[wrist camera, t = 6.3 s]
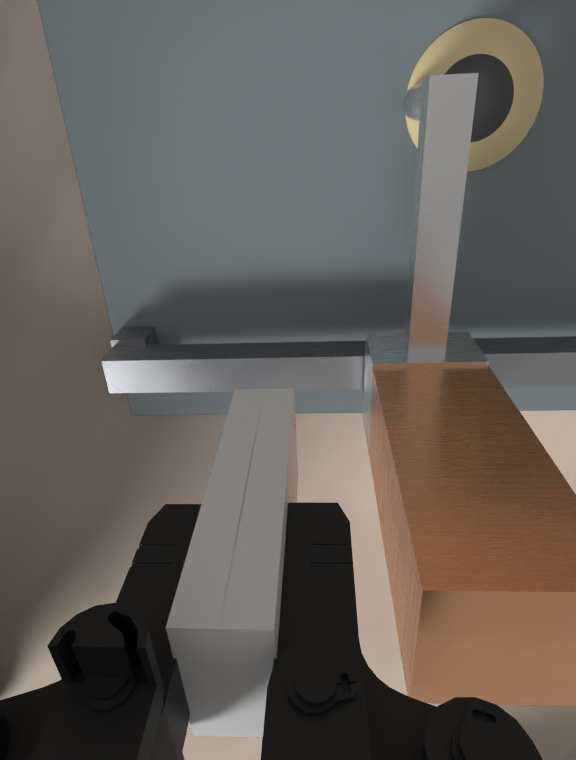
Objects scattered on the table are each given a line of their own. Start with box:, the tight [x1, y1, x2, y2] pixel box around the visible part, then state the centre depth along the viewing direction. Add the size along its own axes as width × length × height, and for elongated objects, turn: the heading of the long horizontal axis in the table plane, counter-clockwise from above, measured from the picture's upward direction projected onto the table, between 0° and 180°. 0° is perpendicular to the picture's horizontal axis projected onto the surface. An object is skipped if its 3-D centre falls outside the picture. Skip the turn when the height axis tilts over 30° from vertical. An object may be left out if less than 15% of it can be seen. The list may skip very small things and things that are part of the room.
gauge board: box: [37, 0, 576, 415], centre depth 16 cm, size 30×14×1 cm, turn 93°
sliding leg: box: [363, 73, 576, 707], centre depth 11 cm, size 3×10×11 cm, turn 3°
